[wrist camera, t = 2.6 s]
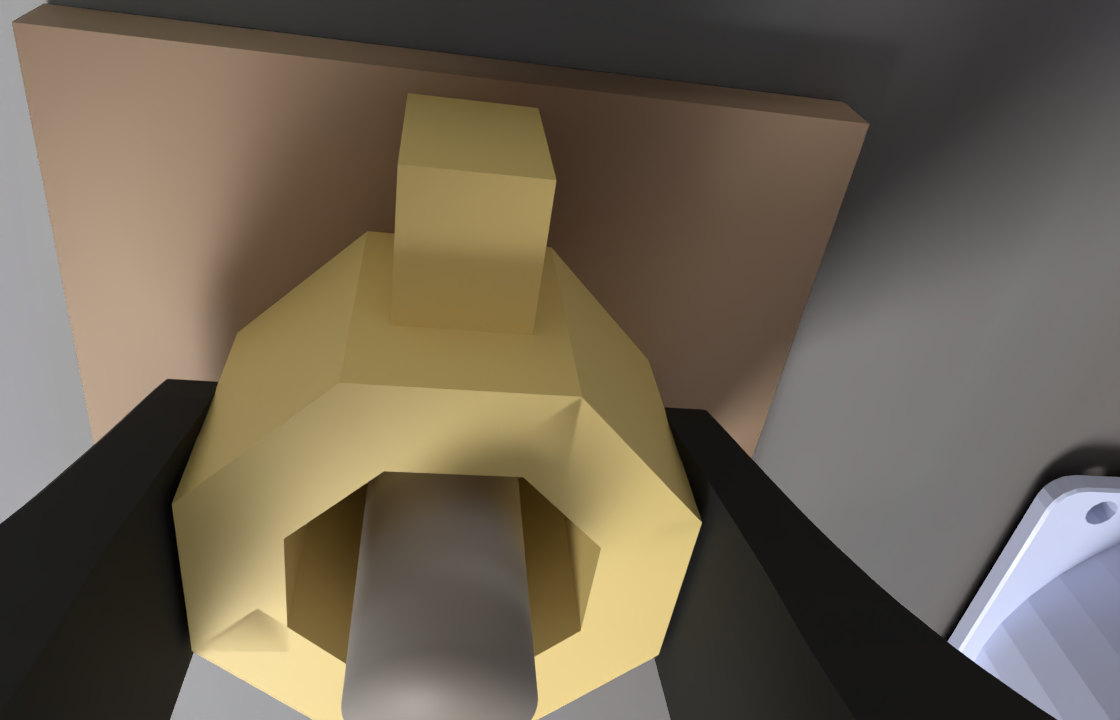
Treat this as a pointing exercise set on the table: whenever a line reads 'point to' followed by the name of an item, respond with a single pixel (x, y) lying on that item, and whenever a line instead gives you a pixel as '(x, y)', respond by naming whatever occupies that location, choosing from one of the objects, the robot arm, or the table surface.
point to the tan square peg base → (369, 205)
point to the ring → (436, 428)
